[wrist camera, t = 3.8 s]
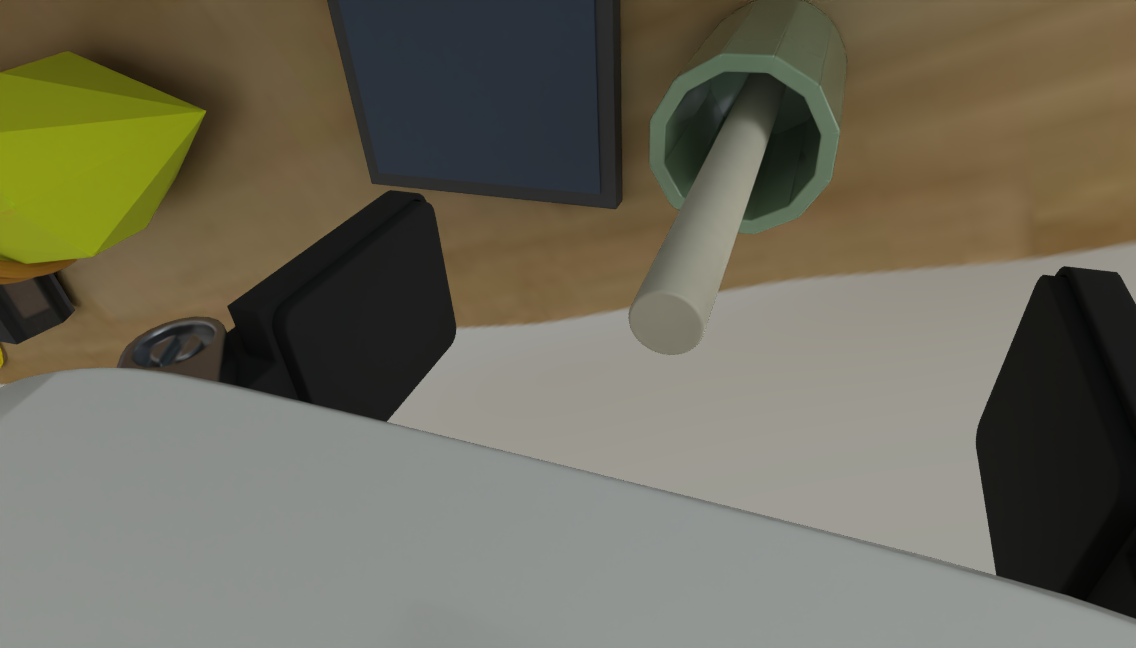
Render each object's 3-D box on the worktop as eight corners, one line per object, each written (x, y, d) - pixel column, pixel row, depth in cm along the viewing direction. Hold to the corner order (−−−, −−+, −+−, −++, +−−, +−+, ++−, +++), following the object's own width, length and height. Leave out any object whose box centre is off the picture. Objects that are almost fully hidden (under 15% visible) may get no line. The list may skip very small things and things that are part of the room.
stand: (698, 134, 23) (647, 223, 18) (706, -4, 21) (650, 51, 15) (832, 143, 22) (820, 242, 16) (858, -4, 19) (853, 57, 14)
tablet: (381, 176, 29) (370, 185, 28) (334, -27, 24) (318, -24, 24) (622, 201, 26) (615, 211, 25) (619, -32, 21) (611, -27, 20)
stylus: (748, 94, 21) (628, 349, 11) (751, 55, 21) (627, 286, 10) (786, 96, 21) (701, 362, 10) (791, 56, 20) (706, 297, 10)
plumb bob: (184, -47, 27) (-146, 114, 36) (24, 52, 20) (-326, 217, 29) (319, 145, 32) (6, 242, 41) (226, 268, 26) (-118, 350, 35)
